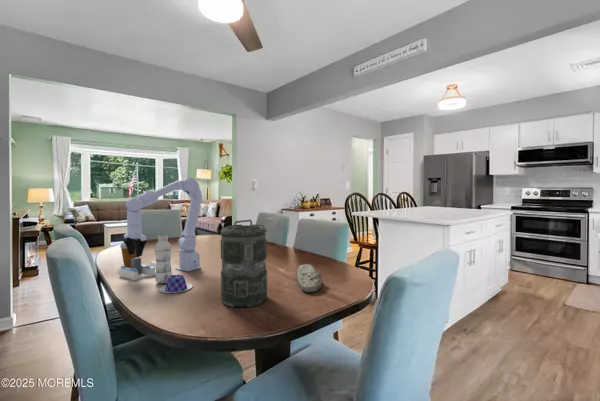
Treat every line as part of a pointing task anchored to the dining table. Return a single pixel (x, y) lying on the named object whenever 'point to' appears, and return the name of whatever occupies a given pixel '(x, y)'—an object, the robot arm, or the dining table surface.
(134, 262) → the cord plug
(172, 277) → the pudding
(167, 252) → the plastic bottle
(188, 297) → the dining table surface
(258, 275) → the canister
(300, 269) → the long grey stone
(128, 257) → the disposable coffee cup
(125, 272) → the white blue cradle
